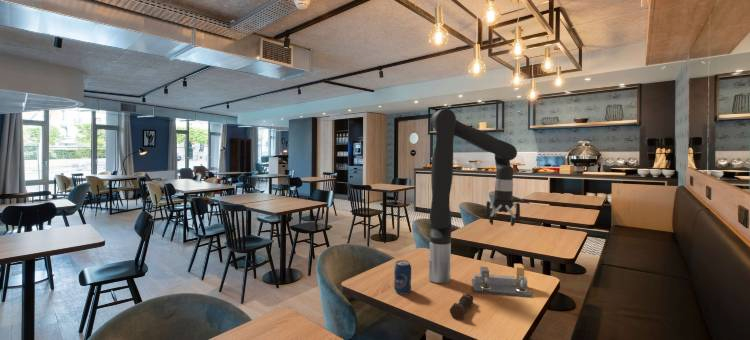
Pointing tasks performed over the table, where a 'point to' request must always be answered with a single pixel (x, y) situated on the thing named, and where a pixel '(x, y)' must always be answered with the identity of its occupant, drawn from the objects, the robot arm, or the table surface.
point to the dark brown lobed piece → (461, 307)
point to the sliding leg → (519, 272)
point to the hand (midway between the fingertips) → (501, 225)
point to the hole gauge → (499, 284)
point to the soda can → (402, 277)
